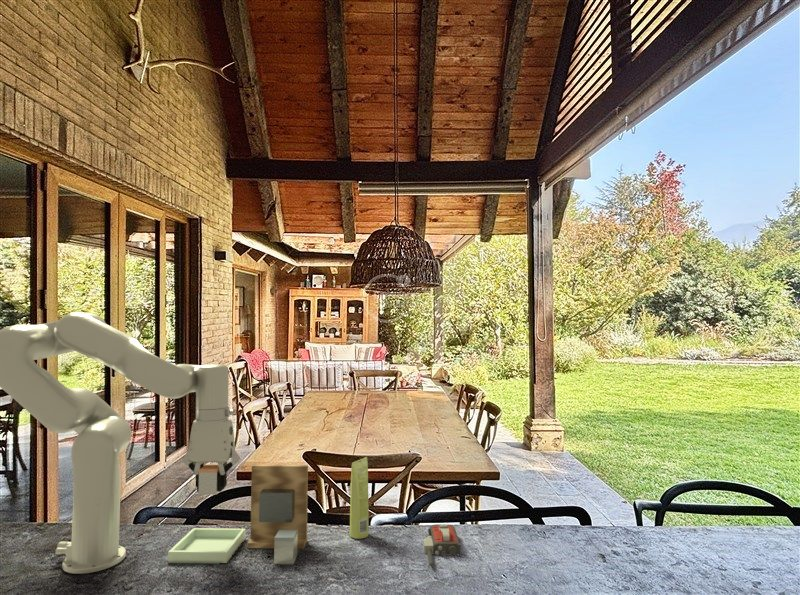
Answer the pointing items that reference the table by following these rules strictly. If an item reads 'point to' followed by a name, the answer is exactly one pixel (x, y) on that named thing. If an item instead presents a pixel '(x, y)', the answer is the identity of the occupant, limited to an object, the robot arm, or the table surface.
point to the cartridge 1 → (208, 479)
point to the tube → (359, 500)
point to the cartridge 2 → (285, 546)
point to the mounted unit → (278, 503)
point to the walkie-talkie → (441, 541)
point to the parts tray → (207, 545)
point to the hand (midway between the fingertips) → (211, 489)
